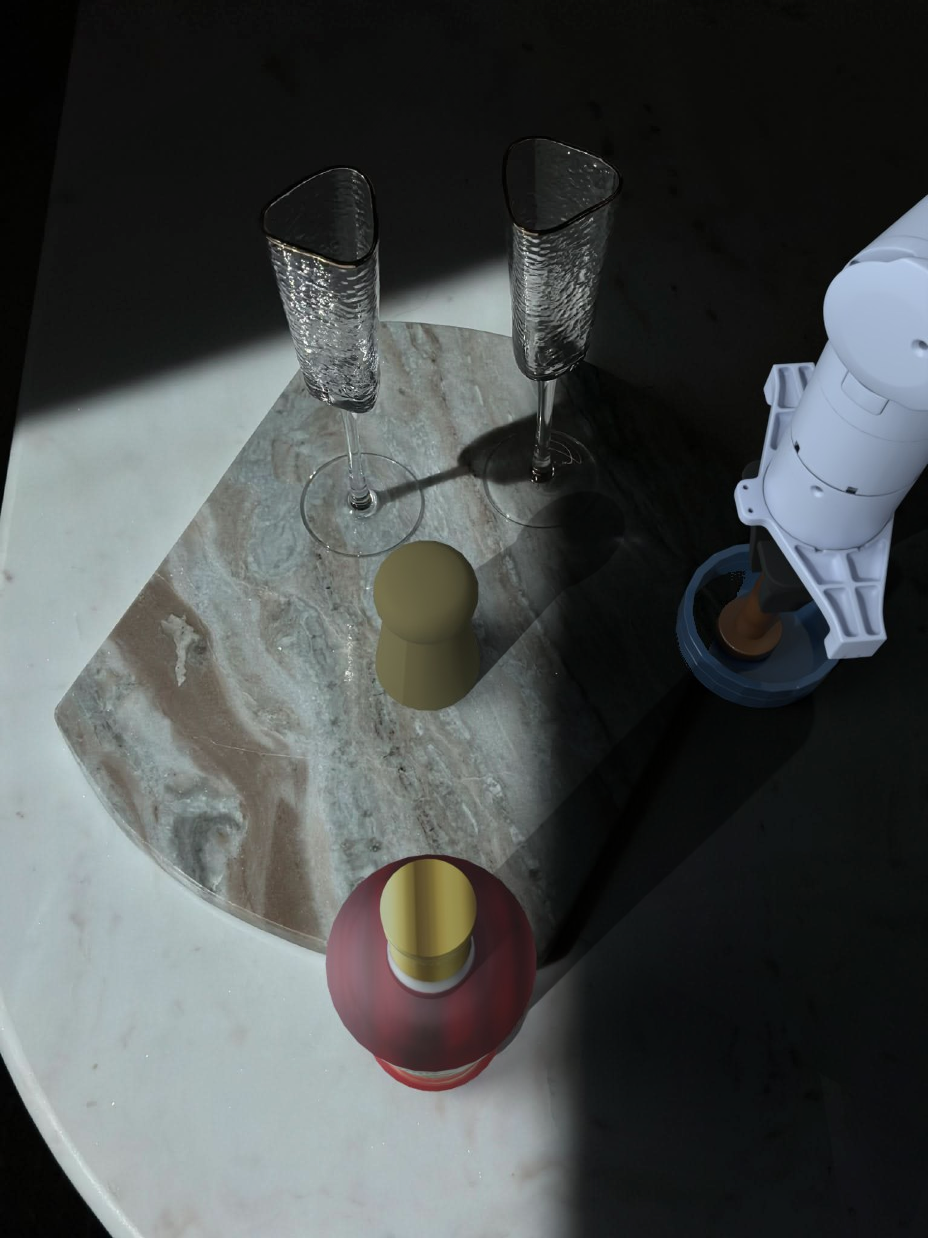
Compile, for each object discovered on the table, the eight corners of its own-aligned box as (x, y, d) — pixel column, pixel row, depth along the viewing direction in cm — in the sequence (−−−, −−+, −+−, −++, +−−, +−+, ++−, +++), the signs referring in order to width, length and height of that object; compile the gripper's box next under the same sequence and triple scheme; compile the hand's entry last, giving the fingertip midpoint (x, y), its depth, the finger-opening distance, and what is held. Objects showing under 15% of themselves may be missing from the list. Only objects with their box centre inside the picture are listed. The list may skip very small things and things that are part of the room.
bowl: (854, 610, 67) (871, 587, 64) (796, 738, 64) (812, 719, 61) (712, 543, 69) (723, 517, 66) (648, 664, 65) (657, 643, 63)
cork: (429, 596, 67) (427, 498, 57) (503, 665, 65) (514, 577, 55) (352, 663, 65) (336, 574, 55) (426, 736, 63) (423, 658, 53)
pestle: (788, 621, 66) (843, 536, 57) (763, 672, 64) (816, 593, 55) (730, 593, 66) (775, 504, 57) (704, 643, 65) (747, 560, 56)
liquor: (361, 1102, 55) (293, 1056, 30) (359, 945, 58) (296, 784, 33) (513, 1094, 56) (572, 1041, 30) (503, 938, 59) (549, 773, 33)
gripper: (731, 305, 51) (675, 472, 63) (801, 601, 45) (723, 722, 57) (888, 296, 51) (801, 463, 63) (978, 589, 45) (863, 711, 57)
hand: (773, 585), depth 60 cm, fingers closed on pestle, 2 cm apart
